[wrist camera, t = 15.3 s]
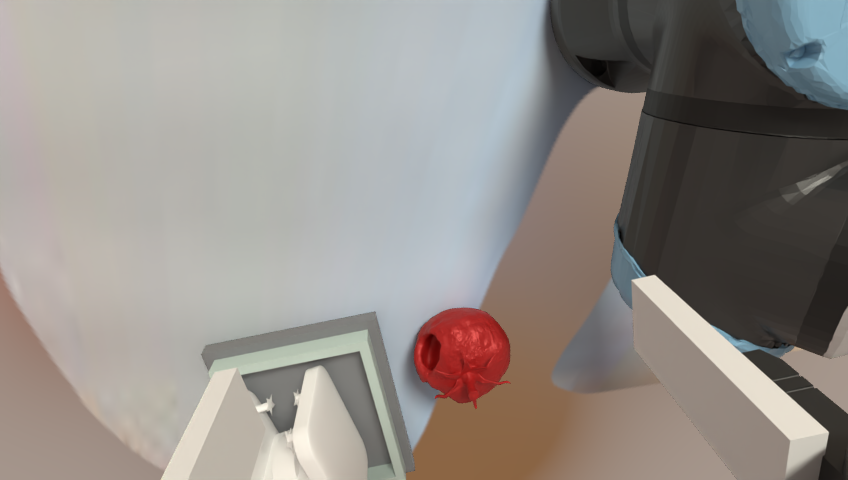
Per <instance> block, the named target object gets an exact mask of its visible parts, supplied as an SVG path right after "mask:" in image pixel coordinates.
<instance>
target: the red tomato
mask: <svg viewBox="0 0 848 480" xmlns="http://www.w3.org/2000/svg"><path fill="white" fill-rule="evenodd" d="M509 362H510V344H509V340H508V338H507V335H506V334H505V332H504V330H503V329H502V328H501V326H500V325H499V324H498V323H497V322H496V321H495V320H494V318H493V317H491V316H490V315H489V314H488V313H487V312H484V311H481V310H478V309H473V308H452V309H448V310H445V311H443V312H441V313H439V314H437V315H436V316H434V317H432V318H431V319H430V320H429V321H428V322H427V323H425V324H424V325H423V327H422V328H421V330H420V332H419V334H418V337H417V342H416V346H415V350H414V363H415V367H416V371H417V373H418V375H419V377H420V379H421V381H422V382H423V383H424V382H428V383H429V385H430V386H431V387H433V388H435V389H437V390H439V391H441V392H443V393H444V395H436V396H435V399H436V398H437V397H440V398H447V397H448V396H449V397H450V398H452V399H453V400H454V401H456V402H458V403H467V402H471V401H473V404H474V406H475V408H477V405H476V399H477V398H479V397H481V396H482V395H484V394H486V393H488V392H489V391H490V390H492V389H493V388H494V387H495V386H496V385H501V384H503V383H510V382H508V381H503V382H499V381H500V379H501V377H502V376H503V374H505V372H506V370H507V368H508V365H509Z"/></svg>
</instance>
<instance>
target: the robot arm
mask: <svg viewBox="0 0 848 480" xmlns="http://www.w3.org/2000/svg"><path fill="white" fill-rule="evenodd" d="M550 8H551V22H552V28H553V32H554V36H555V39H556V42H557V44H558V47H559V49H560V51H561V53H562V55H563V56H564V58H565V60H566V61H567V62H568V64H569V65H570V66H571V67H572V69H573V70H574V71H575V72H577V73H578V74H579V75H580V76H581V77H583V78H584V79H585V80H587V81H589V82H591V83H592V84H595V85H597V86H600V87H602V88H606V89H610V90H615V91H619V92H627V93H640V92H646V97H645V101H644V106H643V109H642V112H641V117H640V122H639V126H638V131H637V136H636V140H635V145H634V150H633V155H632V159H631V164H630V169H629V173H628V178H627V182H626V186H625V190H624V195H623V199H622V204H621V208H620V212H619V213H618V215H617V218H616V220H615V224H614V236H615V242H614V248H613V254H612V260H611V275H612V279H613V282H614V284H615V286H616V287H617V289H618V290H619V292H620V295H621V297H622V299H623V300H624V301H625V303H626V304H627V305H628V306H629V307H630V308H631V309H632V310H633V337H634V349H635V350H636V352H637V353H638V354H639V355H640V357H641V358H642V359H643V361H644V362H645V363H646V364H647V366H648V367H649V368H650V369H651V371H652V372H653V373H654V375H655V376H656V377H657V378H658V380H659V381H660V382H661V383H662V385H663V386H664V387H665V389H666V390H667V391H668V392H669V394H670V395H671V396H672V397H673V399H674V400H675V401H676V402H677V404H678V405H679V406H680V408H681V409H682V410H683V411H684V413H685V414H686V415H687V417H688V418H689V419H690V420H691V422H692V423H693V424H694V425H695V427H696V428H697V429H698V431H699V432H700V433H701V434H702V436H703V437H704V438H705V439H706V441H707V442H708V443H709V445H710V446H711V447H712V448H713V450H714V451H715V452H716V453H717V454H718V456H719V457H720V459H721V460H722V461H723V462H724V463H725V465H726V466H727V467H728V469H729V470H730V471H731V472H732V474H733V475H734V476H735V478H736V479H737V480H848V414H847V413H846V412H845V411H844V410H842V409H841V408H840V407H839V406H838V405H836V404H835V403H834V402H833V401H831V400H830V399H829V398H828V397H826V396H825V395H824V394H823V393H822V392H821V391H819V390H818V389H817V388H814V387H813V385H812V384H811V383H810V382H808V381H807V380H806V379H804V378H803V377H802V376H801V377H800V376H799V373H798V372H796V371H795V370H794V369H793V368H791V367H790V366H789V365H788V364H787V363H785V362H784V361H783V360H782V359H780V358H779V357H781V356H783V355H784V354H785V353H787V352H789V351H791V350H792V349H793V348H794V346H796V347H799V348H801V349H804V350H807V351H809V352H812V353H815V354H817V355H820V356H823V357H826V358H829V359H832V358H836V357H840V356H844V355H848V0H551V5H550ZM265 430H266V428H265V426H264V424H263V422H262V420H261V418H260V416H259V413H258V411H257V409H256V407H255V405H254V403H253V400H252V398H251V396H250V394H249V392H248V390H247V388H246V385H245V383H244V381H243V379H242V377H241V375H240V373H239V370H238V368H232V369H228V370H223V371H219V372H214V374H213V376H212V378H211V380H210V382H209V384H208V386H207V388H206V390H205V392H204V394H203V396H202V398H201V400H200V402H199V404H198V406H197V408H196V410H195V412H194V414H193V416H192V418H191V420H190V422H189V424H188V426H187V428H186V430H185V432H184V434H183V436H182V438H181V440H180V442H179V444H178V446H177V448H176V450H175V452H174V454H173V456H172V458H171V460H170V462H169V464H168V466H167V468H166V470H165V472H164V474H163V476H162V479H161V480H251V477H252V473H253V470H254V467H255V463H256V460H257V457H258V453H259V450H260V447H261V443H262V440H263V437H264V433H265Z"/></svg>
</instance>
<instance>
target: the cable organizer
mask: <svg viewBox="0 0 848 480" xmlns="http://www.w3.org/2000/svg"><path fill="white" fill-rule="evenodd" d="M248 392H249V394H250V396H251V398H252V400H253V403H254V405H255V407H256V409H257V411H258V413H259V416H260V418H261V420H262V422H263V424H264V426H265V428H266V430H265V433H264V437H263V440H262V443H261V447H260V450H259V453H258V457H257V460H256V463H255V467H254V470H253V473H252V477H251V480H367V474H368V459H367V453H366V449H365V446H364V443H363V440H362V438H361V436H360V434H359V432H358V430H357V428H356V427H355V425H354V423H353V421H352V419H351V417H350V415H349V413H348V411H347V409H346V407H345V405H344V403H343V401H342V399H341V397H340V395H339V393H338V391H337V390H336V388H335V386H334V384H333V382H332V380H331V378H330V376H329V374H328V372H327V371H326V369H325V368H324V367H323V366H321V365H319V366H316V367H313V368H310V369H307V370H306V372H305V376H304V381H303V385H302V390H301V394H299V393H298V390H297V393H294V396H295V403H294V406H295V405H297V406H298V409H297V413H296V418H295V422H294V427H293V429H291V428H290V430H288V431H285V432H282V433H279V432H278V431H277V429H276V427H275V426H274V424H273V422H272V421H271V419H270V418H269V416H268V414H267V413H266V412H267V411H269V410H270V412H271V415H272V408H273V407H274V405H275V404H274V403H273V402H272V395H271V397H270V399H267V398H266V399H267V403H263V404H261V403H260V401H259V400H258V398H257V397H256V395H255V394H254V393H252V392H251V391H249V390H248ZM266 410H267V411H266Z"/></svg>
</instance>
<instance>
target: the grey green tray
mask: <svg viewBox="0 0 848 480" xmlns="http://www.w3.org/2000/svg"><path fill="white" fill-rule="evenodd" d="M201 355H202V357H203V360H204V362H205V364H206V366H207V368H208V370H209V372H208V374H209V376H210V378H212V376H213V374H214V372H219V371H223V370H228V369H232V368H238V370H239V373H240V375H241V377H242V379H243V381H244V383H245V385H246V388H247V390H249V391H251V392H252V393H254V394H255V395H256V397H257V398H258V400H259V401H260V403H261V404H263V403H267V399H270V397H271V395H272V402H273V403H274V404H275V405H274V407H273V408H272V415H271V412H270V410H269V411H267V410H266V411H267V412H266V413H267V414H268V416H269V418H270V419H271V421H272V422H273V424H274V426H275V427H276V429H277V431H278V432H279V433H282V432H285V431H288V430H290V428H291V429H293V427H294V422H295V418H296V413H297V409H298V406H297V405H295V406H294V403H295V396H294V393H297V390H298V393H299V394H301V390H302V385H303V381H304V376H305V372H306V370H307V369H310V368H313V367H316V366H319V365H321V366H323V367H324V368H325V369H326V371H327V372H328V374H329V376H330V378H331V380H332V382H333V384H334V386H335V388H336V390H337V391H338V393H339V395H340V397H341V399H342V401H343V403H344V405H345V407H346V409H347V411H348V413H349V415H350V417H351V419H352V421H353V423H354V425H355V427H356V428H357V430H358V432H359V434H360V436H361V438H362V440H363V443H364V446H365V449H366V453H367V459H368V474H367V480H406V472H411V471H415V466H414V458H413V454H412V451H411V447H410V443H409V439H408V435H407V431H406V428H405V424H404V420H403V416H402V412H401V408H400V405H399V401H398V397H397V393H396V389H395V385H394V382H393V378H392V374H391V370H390V366H389V362H388V358H387V355H386V351H385V347H384V343H383V339H382V335H381V332H380V328H379V324H378V320H377V316H376V312H370V313H365V314H360V315H355V316H351V317H346V318H341V319H336V320H331V321H326V322H321V323H316V324H311V325H306V326H301V327H296V328H291V329H286V330H281V331H276V332H271V333H266V334H261V335H256V336H251V337H246V338H241V339H236V340H231V341H226V342H221V343H216V344H211V345H206V347H205V348H204V350H203V352H202V354H201ZM266 398H267V399H266Z"/></svg>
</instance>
